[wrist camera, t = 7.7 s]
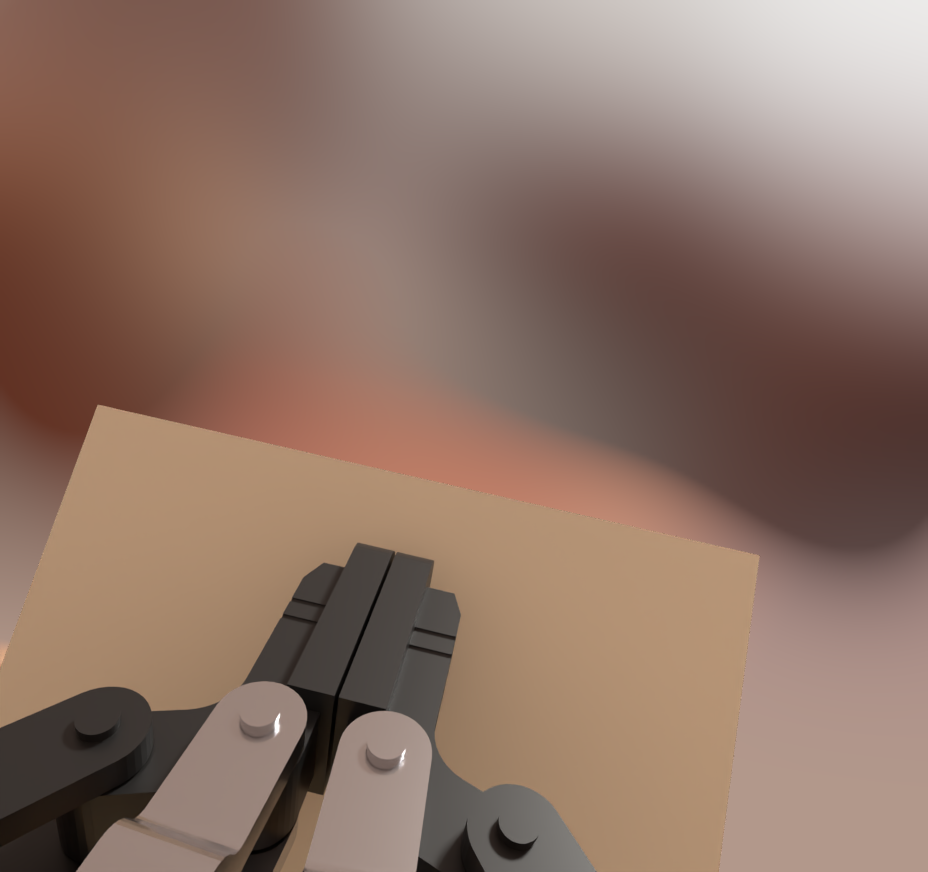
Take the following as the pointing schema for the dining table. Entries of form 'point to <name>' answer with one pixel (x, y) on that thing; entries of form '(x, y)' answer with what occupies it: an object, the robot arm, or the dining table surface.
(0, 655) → the dining table surface
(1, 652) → the dining table surface
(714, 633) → the back flap
